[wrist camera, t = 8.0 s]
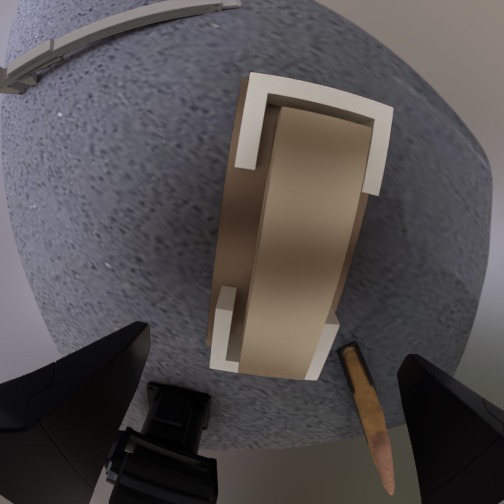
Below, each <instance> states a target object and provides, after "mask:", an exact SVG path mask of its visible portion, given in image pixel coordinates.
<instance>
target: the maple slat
mask: <svg viewBox="0 0 504 504" xmlns="http://www.w3.org/2000/svg"><path fill="white" fill-rule="evenodd" d="M371 130H372V128H370V127H367V126H364V125H360V124H357V123H353V122H350V121H346V120H342V119H339V118H335V117H331V116H326V115H322V114H318V113H313V112H309V111H304V110H299V109H294V108H288V107H283V106H282V108H281V110H280V113H279V115H278V117H277V120H276V124H275V130H274V136H273V142H272V149H271V155H270V161H269V168H268V174H267V180H266V186H265V193H264V199H263V205H262V211H261V217H260V224H259V230H258V236H257V242H256V248H255V255H254V261H253V267H252V273H251V279H250V285H249V291H248V298H247V304H246V310H245V316H244V322H243V330H242V339H241V349H240V358H239V368H238V373H242V374H250V375H259V376H268V377H279V378H291V379H305V377H306V374H307V372H308V369H309V367H310V364H311V361H312V359H313V356H314V353H315V351H316V348H317V345H318V342H319V339H320V337H321V334H322V331H323V328H324V325H325V322H326V319H327V316H328V313H329V310H330V307H331V304H332V301H333V297H334V294H335V291H336V287H337V284H338V281H339V277H340V274H341V270H342V267H343V263H344V260H345V256H346V252H347V248H348V244H349V241H350V237H351V232H352V228H353V224H354V220H355V216H356V211H357V207H358V202H359V197H360V193H361V188H362V183H363V178H364V172H365V167H366V161H367V155H368V149H369V143H370V137H371Z"/></svg>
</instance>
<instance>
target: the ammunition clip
mask: <svg viewBox="0 0 504 504" xmlns="http://www.w3.org/2000/svg"><path fill="white" fill-rule="evenodd" d="M337 352H338V355H339V358H340V361H341V364H342V367H343V370H344V373H345V376H346V379H347V383H348V386H349V389H350V392H351V395H352V398H353V401H354V404H355V407H356V410H357V413H358V416H359V419H360V422H361V425H362V428H363V431H364V434H365V437H366V440H367V443H368V444H369V446H370V450H371V453H372V457H373V460H374V463H375V465H376V466H377V469H378V472H379V474H380V477H381V481H382V483H383V485H384V487H385V489H386V491H387V492H388V493H389V494H390V495H393V493H394V471H393V461H392V451H391V445H390V441H389V437H388V434H387V429H386V425H385V420H384V414H383V411H382V408H381V405H380V403H379V400H378V397H377V393H376V388H375V384H374V381H373V379H372V376H371V374H370V372H369V369H368V367H367V364H366V362H365V360H364V357H363V355H362V353H361V350H360V348H359V346H358V344H357V342H354V343H352V344H350V345H347V346H345V347H342V348H340V349H338V350H337Z"/></svg>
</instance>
